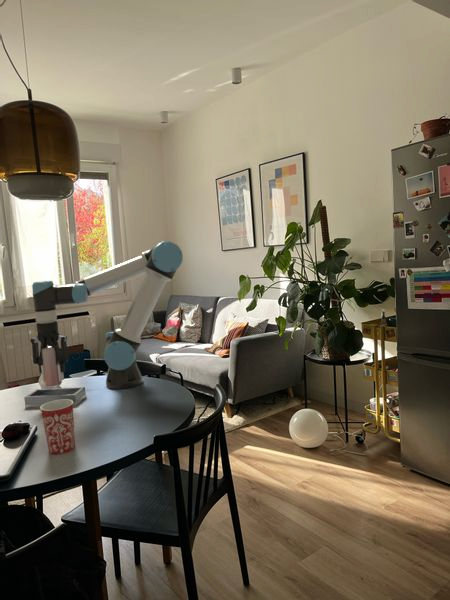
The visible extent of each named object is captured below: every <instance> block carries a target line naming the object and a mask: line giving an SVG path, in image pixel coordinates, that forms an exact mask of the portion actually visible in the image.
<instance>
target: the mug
mask: <svg viewBox="0 0 450 600" xmlns="http://www.w3.org/2000/svg"><path fill="white" fill-rule="evenodd" d="M39 410H40V412H41V417H42V422H43V427H44V433H45V439H46V443H47V444H46V445H47V449H48V452H49V453H50V454H52V455H61V454H65V453H68V452H69V453H70V452H71V451H72V450H73V449H75V446H76V445H75V444H76V441H75V439H76V438H75V425H74V424H75V423H74V406H73V401H72V400H69V399H61V400H55V401H51V402H47V403H45V404H43V405H42V406H41V407H39Z"/></svg>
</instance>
